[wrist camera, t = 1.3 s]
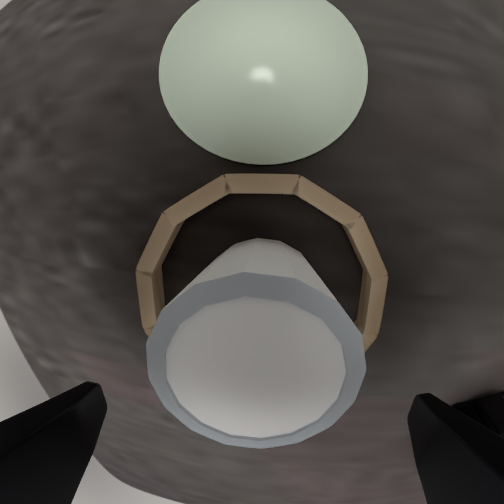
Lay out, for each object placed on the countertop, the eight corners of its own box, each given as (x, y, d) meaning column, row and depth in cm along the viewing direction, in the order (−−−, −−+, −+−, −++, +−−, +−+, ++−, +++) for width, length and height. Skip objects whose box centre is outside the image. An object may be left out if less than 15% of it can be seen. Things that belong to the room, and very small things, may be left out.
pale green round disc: (365, 169, 14) (369, 169, 13) (160, 166, 14) (156, 167, 14) (356, -6, 11) (359, -11, 11) (169, -5, 12) (166, -10, 11)
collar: (357, 384, 17) (363, 400, 15) (162, 378, 17) (155, 393, 16) (385, 179, 14) (396, 180, 12) (142, 176, 14) (129, 177, 13)
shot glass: (203, 353, 17) (170, 447, 10) (184, 230, 15) (120, 279, 8) (329, 347, 16) (355, 443, 10) (329, 220, 15) (376, 264, 8)
